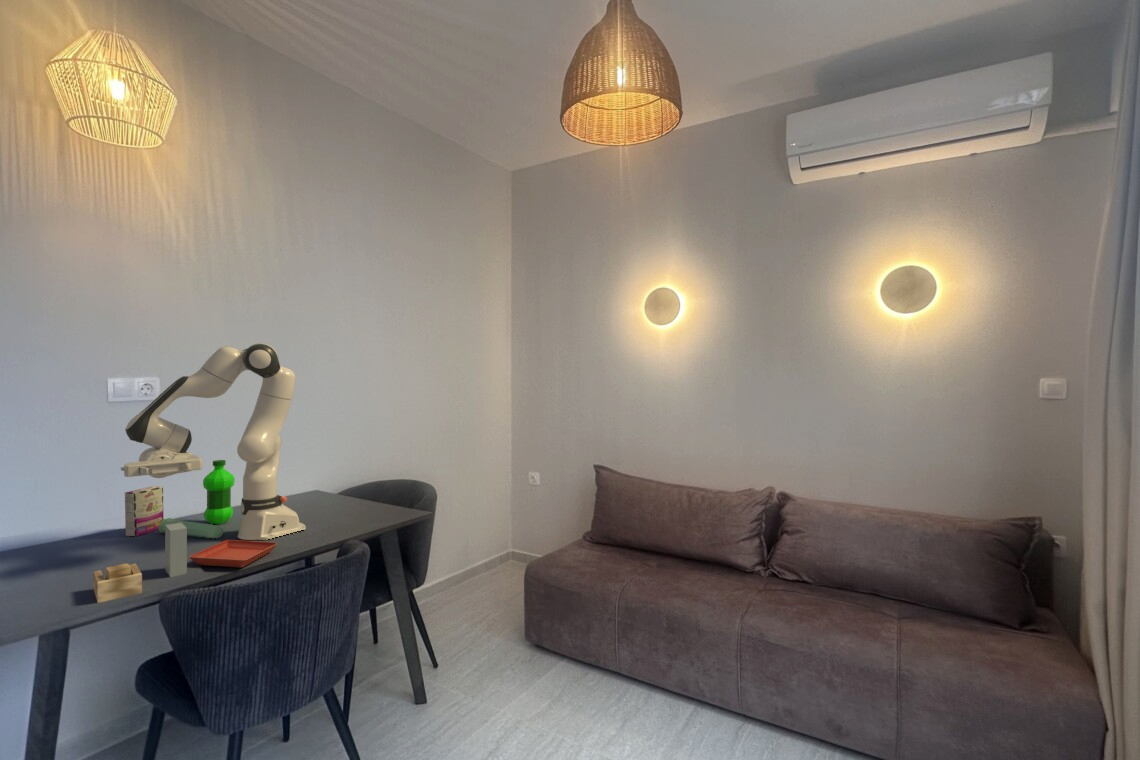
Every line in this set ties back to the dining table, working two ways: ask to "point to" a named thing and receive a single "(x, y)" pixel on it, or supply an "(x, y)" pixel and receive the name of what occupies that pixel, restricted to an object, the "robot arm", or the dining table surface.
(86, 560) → the dining table surface
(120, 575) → the offcut upper
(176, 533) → the grey rectangular block
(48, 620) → the dining table surface
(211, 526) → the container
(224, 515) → the plastic bottle
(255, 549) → the plant saucer
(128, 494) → the candy bar box
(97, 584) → the rack
